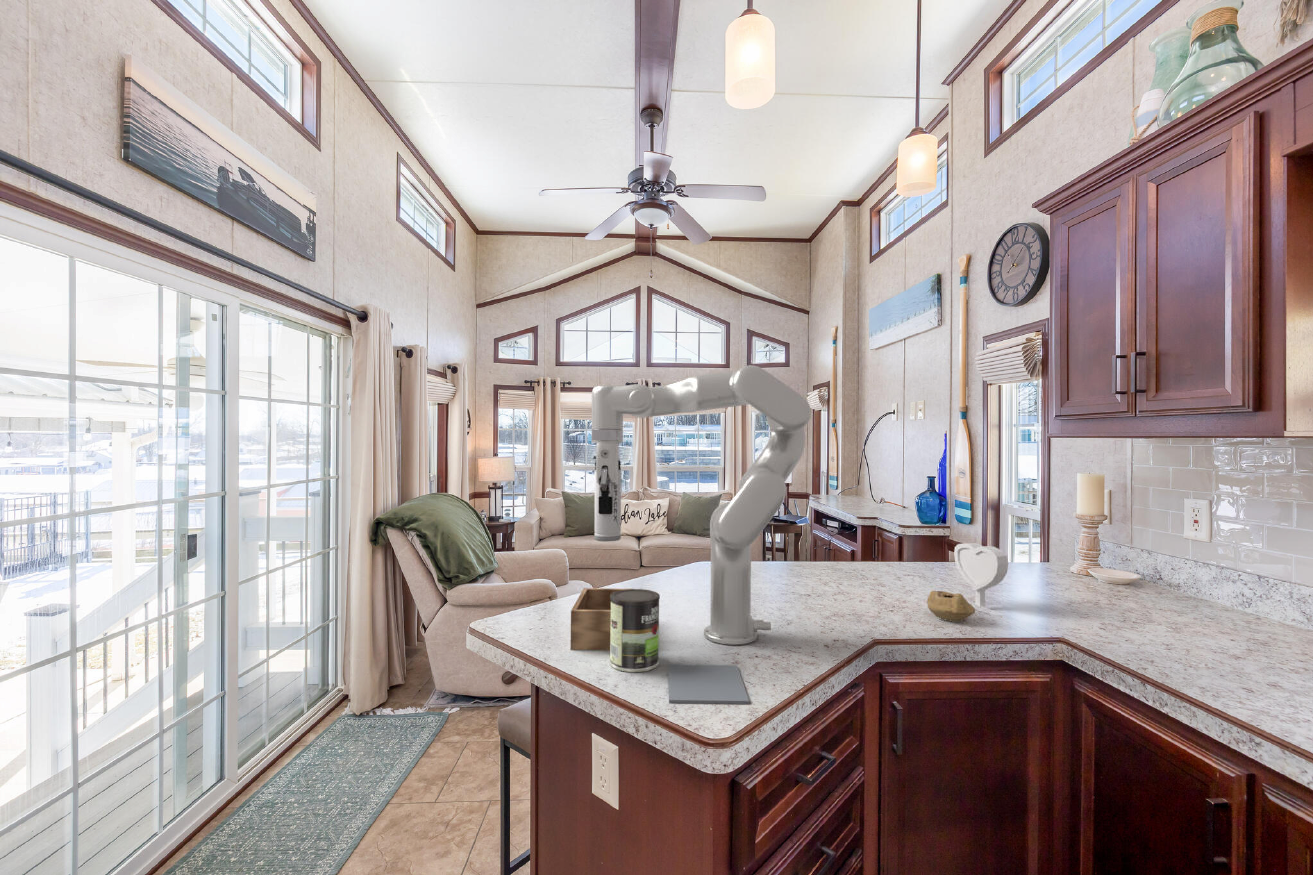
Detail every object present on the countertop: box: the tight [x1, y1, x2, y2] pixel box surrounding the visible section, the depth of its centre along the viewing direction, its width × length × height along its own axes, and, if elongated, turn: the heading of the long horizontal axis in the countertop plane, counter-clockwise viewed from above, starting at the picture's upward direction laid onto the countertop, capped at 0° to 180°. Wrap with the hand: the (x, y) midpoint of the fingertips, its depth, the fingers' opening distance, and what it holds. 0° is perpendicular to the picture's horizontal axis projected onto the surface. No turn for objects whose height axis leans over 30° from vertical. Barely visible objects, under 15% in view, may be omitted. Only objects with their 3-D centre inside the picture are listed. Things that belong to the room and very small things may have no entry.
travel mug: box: [592, 455, 622, 543], centre depth 132 cm, size 6×7×20 cm
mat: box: [667, 663, 750, 705], centre depth 105 cm, size 14×16×1 cm
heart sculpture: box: [953, 542, 1009, 608], centre depth 157 cm, size 16×5×18 cm, turn 13°
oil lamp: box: [926, 590, 976, 622], centre depth 148 cm, size 11×15×8 cm
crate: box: [569, 587, 627, 651], centre depth 132 cm, size 13×20×8 cm, turn 179°
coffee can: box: [609, 588, 661, 673], centre depth 115 cm, size 10×10×14 cm
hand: (607, 511), depth 132 cm, fingers closed on travel mug, 6 cm apart
